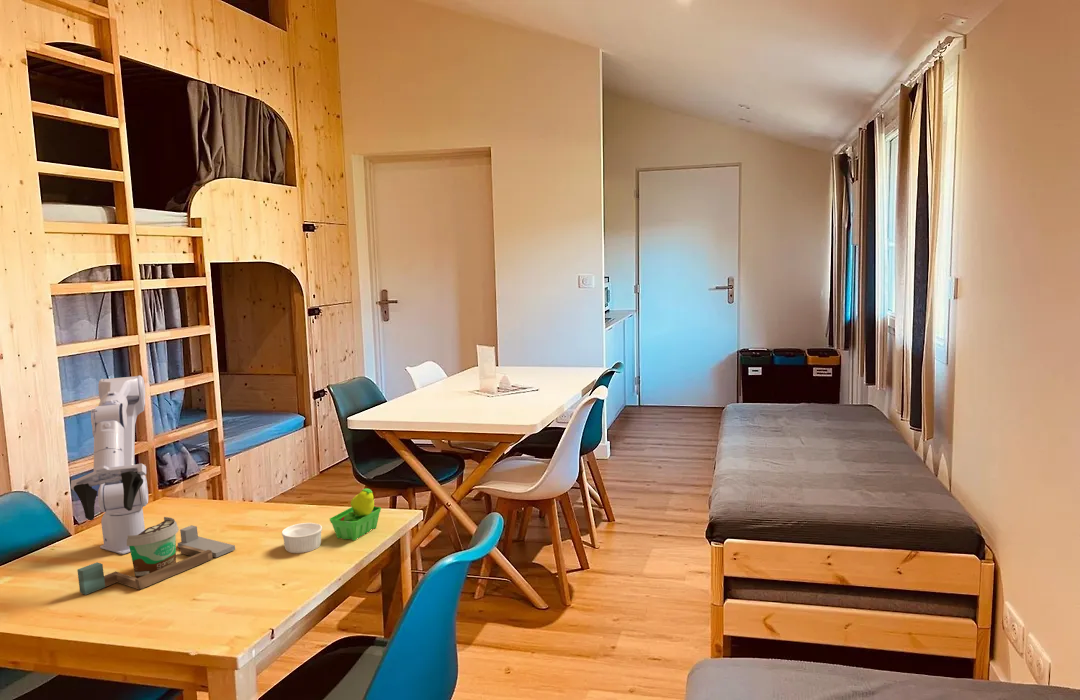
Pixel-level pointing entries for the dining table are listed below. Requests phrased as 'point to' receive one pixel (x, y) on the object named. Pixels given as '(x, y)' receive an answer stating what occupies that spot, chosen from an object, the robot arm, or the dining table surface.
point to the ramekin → (302, 537)
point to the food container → (154, 547)
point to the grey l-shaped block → (203, 542)
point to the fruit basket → (357, 517)
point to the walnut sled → (94, 577)
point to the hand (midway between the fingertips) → (108, 513)
